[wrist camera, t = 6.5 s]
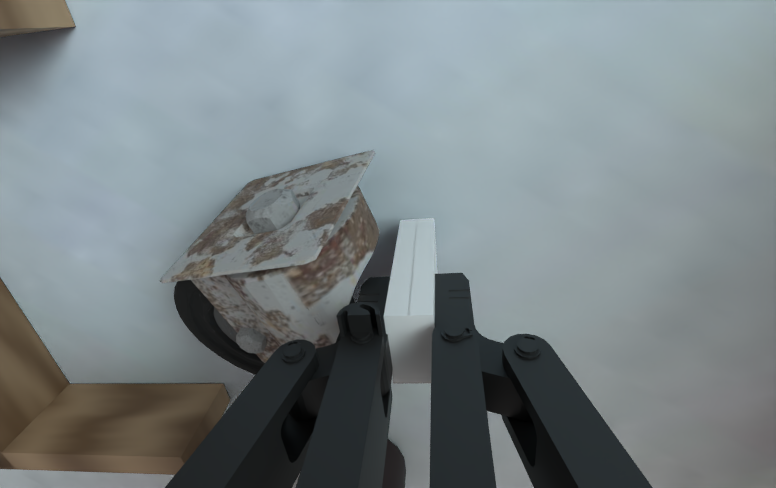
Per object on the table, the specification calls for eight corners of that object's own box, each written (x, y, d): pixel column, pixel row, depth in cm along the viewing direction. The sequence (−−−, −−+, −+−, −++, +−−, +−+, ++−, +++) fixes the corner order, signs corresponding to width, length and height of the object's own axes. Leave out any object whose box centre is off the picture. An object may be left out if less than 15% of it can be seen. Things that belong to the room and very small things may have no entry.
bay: (57, -17, 16) (-84, -29, 12) (230, 400, 27) (190, 475, 23) (-198, 23, 18) (-403, 26, 14) (60, 399, 29) (-7, 468, 24)
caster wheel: (275, 319, 26) (174, 189, 21) (445, 308, 22) (371, 135, 16) (218, 419, 22) (67, 284, 16) (421, 433, 17) (304, 247, 11)
